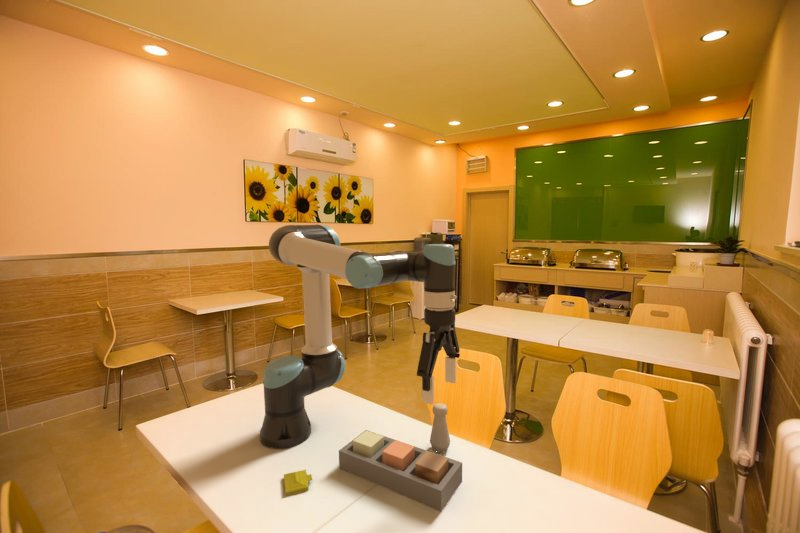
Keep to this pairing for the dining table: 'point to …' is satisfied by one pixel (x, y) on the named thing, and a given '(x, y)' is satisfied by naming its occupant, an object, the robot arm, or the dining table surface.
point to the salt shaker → (440, 429)
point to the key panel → (402, 475)
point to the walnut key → (431, 467)
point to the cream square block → (368, 444)
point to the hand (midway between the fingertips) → (440, 391)
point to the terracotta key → (398, 455)
